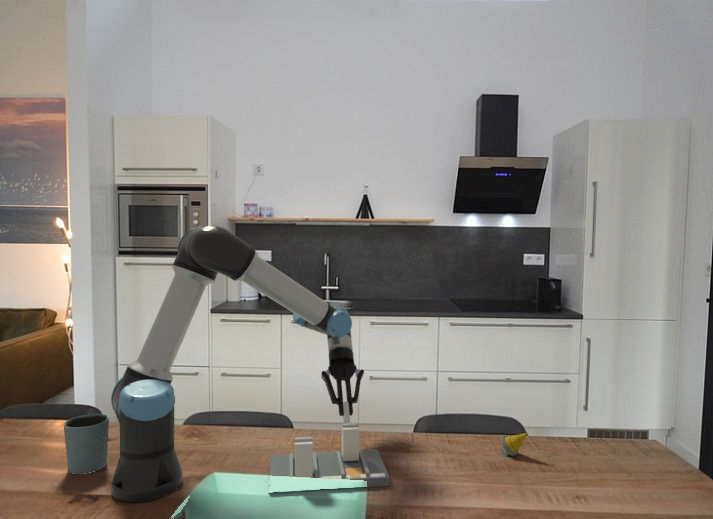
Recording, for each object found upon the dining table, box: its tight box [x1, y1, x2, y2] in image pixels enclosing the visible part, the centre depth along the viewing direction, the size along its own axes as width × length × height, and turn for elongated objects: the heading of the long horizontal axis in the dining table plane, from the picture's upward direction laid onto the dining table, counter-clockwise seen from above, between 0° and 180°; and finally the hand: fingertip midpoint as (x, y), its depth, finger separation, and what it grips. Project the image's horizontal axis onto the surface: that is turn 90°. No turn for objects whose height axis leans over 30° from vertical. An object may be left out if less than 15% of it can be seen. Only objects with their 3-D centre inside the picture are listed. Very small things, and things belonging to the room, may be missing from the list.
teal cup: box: [63, 413, 110, 474], centre depth 121 cm, size 10×10×12 cm
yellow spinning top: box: [500, 432, 529, 457], centre depth 130 cm, size 5×5×10 cm
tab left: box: [294, 436, 314, 478], centre depth 113 cm, size 4×4×9 cm
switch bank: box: [269, 448, 391, 488], centre depth 118 cm, size 28×16×3 cm, turn 98°
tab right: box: [341, 422, 360, 461], centre depth 122 cm, size 4×4×9 cm
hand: (347, 426), depth 131 cm, fingers closed
